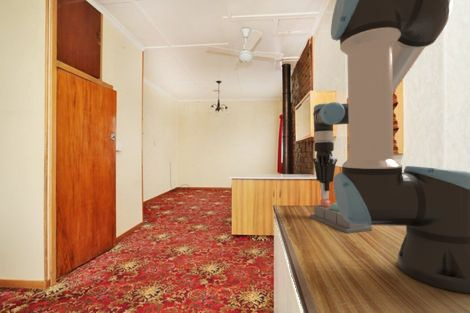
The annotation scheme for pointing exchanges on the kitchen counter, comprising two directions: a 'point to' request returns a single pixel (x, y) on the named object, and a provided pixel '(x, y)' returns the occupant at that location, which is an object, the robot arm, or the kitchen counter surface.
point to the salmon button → (325, 203)
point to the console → (336, 220)
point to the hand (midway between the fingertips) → (325, 198)
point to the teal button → (335, 207)
